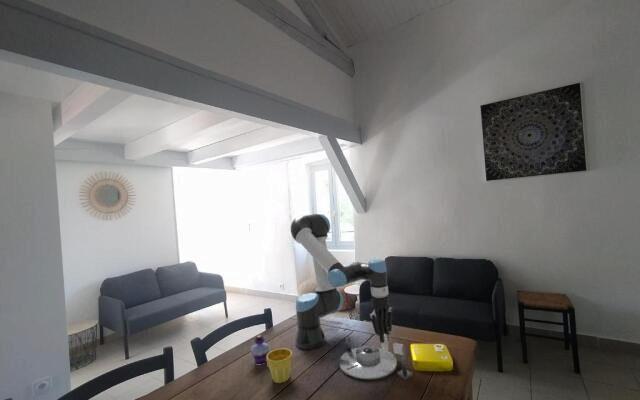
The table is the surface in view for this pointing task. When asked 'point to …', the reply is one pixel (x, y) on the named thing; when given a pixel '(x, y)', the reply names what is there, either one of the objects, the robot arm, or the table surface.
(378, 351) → the cover
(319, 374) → the table surface
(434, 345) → the element tile
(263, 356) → the potion bottle
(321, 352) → the table surface
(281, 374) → the plant pot
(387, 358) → the turntable
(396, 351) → the stand
